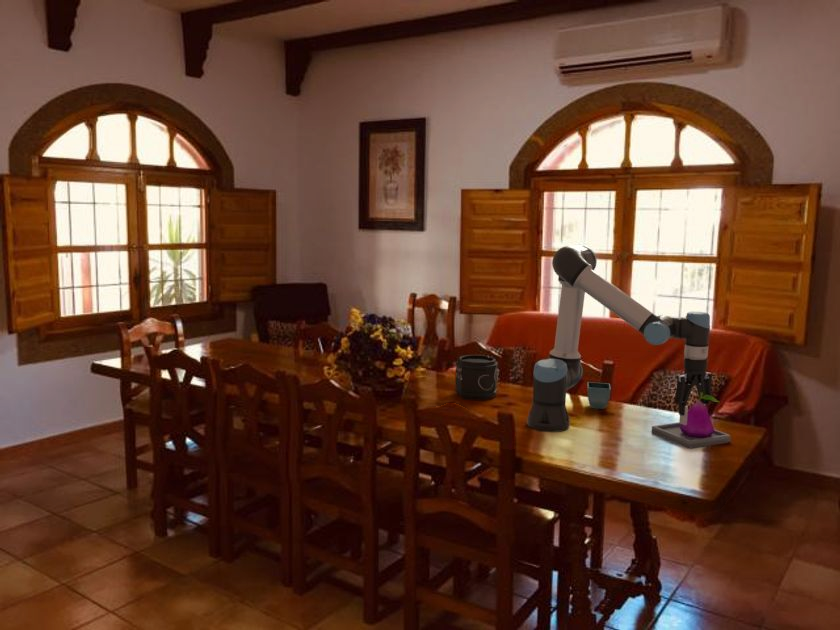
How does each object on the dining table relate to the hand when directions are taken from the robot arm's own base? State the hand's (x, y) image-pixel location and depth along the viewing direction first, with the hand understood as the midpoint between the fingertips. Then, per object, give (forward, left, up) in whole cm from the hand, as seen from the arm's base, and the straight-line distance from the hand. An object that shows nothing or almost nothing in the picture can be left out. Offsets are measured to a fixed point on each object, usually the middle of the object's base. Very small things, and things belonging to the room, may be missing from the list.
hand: (691, 422), depth 248 cm
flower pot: (-6, +43, -6) cm, 44 cm away
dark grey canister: (-42, +77, -6) cm, 88 cm away
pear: (+1, -1, -4) cm, 4 cm away
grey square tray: (0, 0, -5) cm, 5 cm away
